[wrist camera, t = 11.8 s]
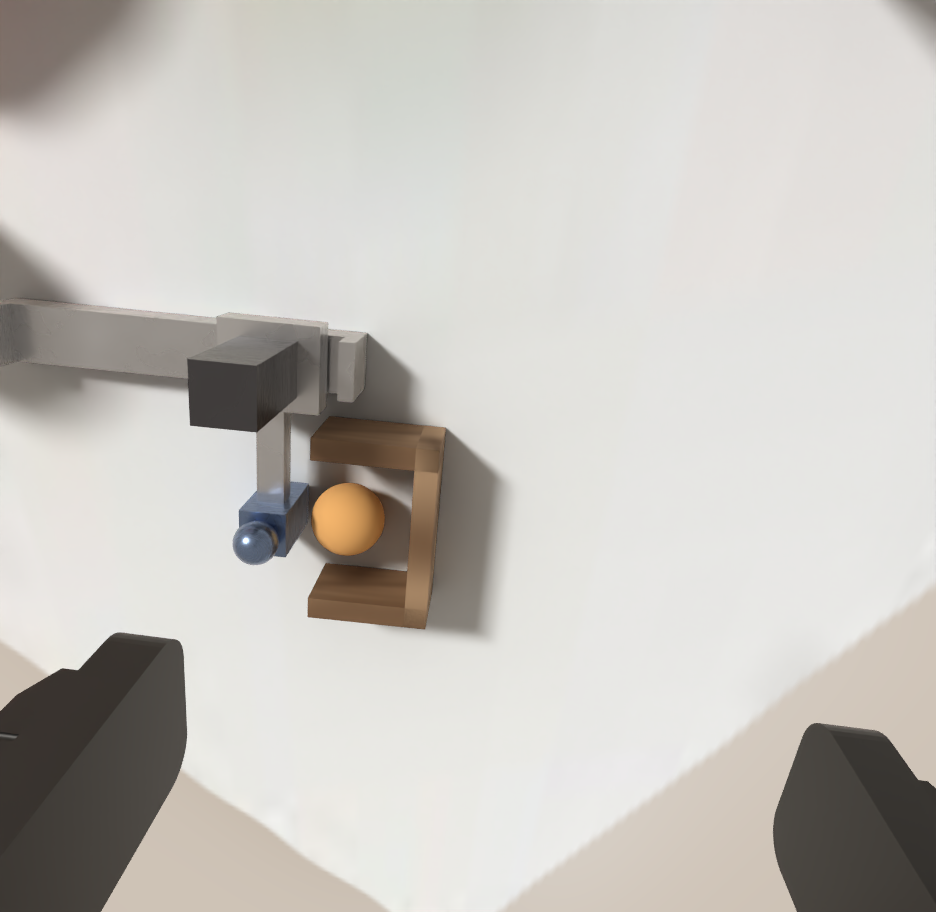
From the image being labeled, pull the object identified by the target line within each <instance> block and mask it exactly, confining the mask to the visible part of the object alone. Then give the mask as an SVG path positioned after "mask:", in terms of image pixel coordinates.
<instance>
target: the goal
mask: <svg viewBox="0 0 936 912" xmlns="http://www.w3.org/2000/svg"><path fill="white" fill-rule="evenodd" d="M445 433H446V428H443V427H433V426H423V425H413V424H403V423H394V422H384V421H374V420H364V419H354V418H344V417H334V416H329V417H328V418H327V419H326V421H325V422H324V423H323V424H322V425H321V426H320V427H319V429H318V430H317V431H316V432H315V433H314V434H313V436H312V437H311V442H310V460H312V461H322V462H332V463H342V464H352V465H361V466H371V467H381V468H391V469H400V470H410V471H414V484H413V499H412V513H411V527H410V541H409V555H408V569H407V571H397V570H388V569H378V568H368V567H359V566H349V565H339V564H330V563H326V564H325V566H324V567H323V569H322V571H321V573H320V575H319V577H318V579H317V581H316V583H315V585H314V587H313V589H312V591H311V593H310V595H309V597H308V617H312V618H321V619H331V620H340V621H350V622H359V623H369V624H379V625H388V626H398V627H407V628H417V629H425V627H426V622H427V616H428V611H429V605H430V600H431V594H432V586H433V574H434V562H435V550H436V539H437V527H438V515H439V503H440V492H441V480H442V468H443V457H444V445H445Z"/></svg>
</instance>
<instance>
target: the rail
mask: <svg viewBox="0 0 936 912" xmlns="http://www.w3.org/2000/svg"><path fill="white" fill-rule="evenodd" d="M215 346H217V320H216V318H212V317H202V316H192V315H182V314H172V313H162V312H152V311H142V310H132V309H122V308H112V307H102V306H92V305H82V304H72V303H62V302H52V301H42V300H32V299H22V298H15V299H9V300H3V301H0V366H3V365H7V364H10V363H14V362H17V361H18V362H28V363H38V364H47V365H57V366H67V367H77V368H87V369H97V370H107V371H117V372H127V373H136V374H146V375H156V376H166V377H176V378H186V379H188V366H187V359H188V358H190V357H192V356H195V355H197V354H199V353H202V352H204V351H206V350H208V349H211V348H213V347H215ZM366 350H367V333H362V332H352V331H342V330H332V329H328V356H327V393H334V394H337V401H341V402H351V403H353V402H354V401H355V400H356V398H357V397H358V396H359V395H360V393H361V392H362V391H363V390H364V388H365V373H366Z"/></svg>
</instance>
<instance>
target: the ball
mask: <svg viewBox="0 0 936 912" xmlns="http://www.w3.org/2000/svg"><path fill="white" fill-rule="evenodd" d="M384 522H385V515H384V509H383V506H382V504H381V502H380V500H379V499H378V497H377V496H376V495H375V494H374V493H373V492H372V491H371V490H370V489H368V488H366V487H365V486H362V485H359V484H355V483H342V484H338V485H335V486H333V487H331V488H329V489H327V490H326V491H325V492H324V493H322V494H321V496H320V497H319V498H318V499H317V501H316V503H315V505H314V507H313V510H312V516H311V525H312V529H313V532H314V535H315V537H316V538H317V540H318V541H319V543H320V544H321V545H322V546H323V547H324V548H326V549H327V550H329V551H330V552H333V553H335V554H339V555H346V556H350V555H356V554H360V553H362V552H364V551H366V550H368V549H369V548H371V547H372V546H373V545H374V544H375V543H376V542H377V540H378V539H379V537H380V536H381V534H382V531H383V528H384Z"/></svg>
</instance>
